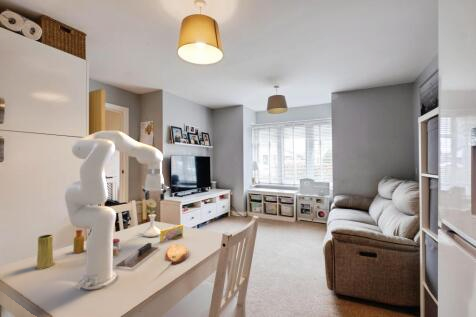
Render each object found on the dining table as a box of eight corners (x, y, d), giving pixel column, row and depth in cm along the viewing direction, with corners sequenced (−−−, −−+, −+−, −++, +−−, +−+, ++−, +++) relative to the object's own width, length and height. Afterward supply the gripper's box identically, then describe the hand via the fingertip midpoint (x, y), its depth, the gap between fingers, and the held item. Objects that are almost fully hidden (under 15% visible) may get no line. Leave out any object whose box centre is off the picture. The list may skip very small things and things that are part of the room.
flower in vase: (164, 234, 151) (164, 198, 151) (150, 239, 141) (150, 200, 141) (152, 231, 158) (152, 196, 158) (137, 235, 148) (138, 198, 148)
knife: (126, 265, 104) (127, 259, 104) (123, 265, 104) (123, 259, 104) (151, 248, 124) (151, 243, 124) (148, 248, 125) (148, 242, 125)
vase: (33, 269, 102) (33, 239, 102) (41, 263, 108) (41, 234, 108) (48, 268, 103) (49, 237, 103) (55, 262, 109) (56, 233, 109)
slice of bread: (176, 246, 131) (176, 239, 131) (199, 252, 122) (199, 246, 122) (150, 257, 116) (150, 250, 116) (174, 266, 107) (174, 258, 107)
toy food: (70, 253, 120) (71, 231, 120) (92, 244, 132) (92, 224, 132) (108, 260, 112) (109, 236, 112) (128, 250, 124) (128, 229, 124)
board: (132, 270, 102) (132, 267, 102) (115, 268, 104) (115, 265, 104) (159, 249, 126) (159, 247, 126) (144, 248, 127) (144, 246, 127)
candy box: (161, 244, 133) (161, 230, 134) (159, 243, 135) (159, 230, 135) (183, 237, 146) (183, 224, 146) (181, 236, 148) (181, 224, 148)
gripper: (138, 172, 131) (138, 200, 131) (165, 172, 129) (164, 201, 128) (145, 171, 139) (145, 198, 139) (171, 171, 136) (170, 199, 136)
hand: (154, 200), depth 134 cm, fingers open, 9 cm apart
